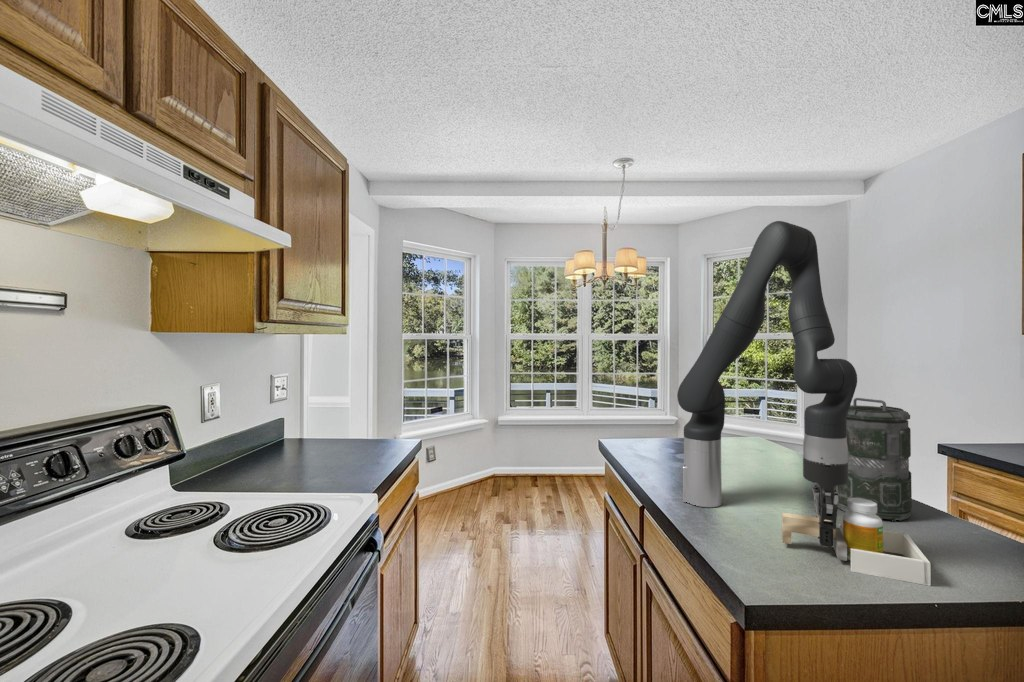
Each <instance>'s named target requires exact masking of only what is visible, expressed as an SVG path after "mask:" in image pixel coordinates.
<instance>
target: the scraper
mask: <svg viewBox="0 0 1024 682" xmlns="http://www.w3.org/2000/svg"><path fill="white" fill-rule="evenodd" d="M781 515H782V517H781V522H782V523H781V524H782V525H781V526H782V527H781V528H782V529H781V530H782V532H781V534H782V535H781V539H782V543H784V544H788V545H792V533H793V534H794V533H795V534H801V535H805V536H807V535H808V536H812V537H813V536H814V537H817V538H818V537H819V525H818V522H819V518H816V516H815V517H814V516H809V515H803V514H797V513H789V512H781ZM824 521H828V522H831V520H824ZM832 548H833V549H834V553H835V554H836V558H837V559H838V560H840V561H848V559H847V544H846V542H845V539H844V537H843V535H842V532H841V530H840V528H839V526H838V527H837V526H836V529H833V547H832Z"/></svg>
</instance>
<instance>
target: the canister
mask: <svg viewBox="0 0 1024 682" xmlns="http://www.w3.org/2000/svg"><path fill="white" fill-rule="evenodd" d="M852 401H853V402H852V403H853V404H852V405H850V408H849V411H848V413H847V417H846V439H847V446H848V483H847V484H846V485H843V486H834V490H836V493H838V503H837V507H838V510H839V509H840V510H841V511H844V512H845V511H847V510H849V509H848V506H847V500H848V499H849V498H862V499H867V500H870V501H873V502H875V503H876V504H877V513H876V515H877V516H879V517H880V518H881V519H882V520H891V521H892V520H893V521H892V522H897V521H896V520H899V521H903V520H904V521H905V520H907V519H909V518H910V517H911V515H912V506H913V505H912V502H913V501H912V493H913V491H912V472H911V470H910V469H909V468H910V463H909V461H910V457H911V455H912V454H911V453H912V444H911V443H912V442H911V441H912V439H911V433H912V432H911V428H910V427H909V421H908V420H910V419H911V414H910V413H909V412H908V411H906V410H904V409H902V408H901V407H893V406H888V405H887V403H886V402H885V401H884V400H881V399H873V398H865V397H864V398H863V397H855V398H854V399H852ZM857 401H861V402H870V403H871V402H872V403H879V404H882V405H880V406H874V405H857Z"/></svg>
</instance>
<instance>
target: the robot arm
mask: <svg viewBox="0 0 1024 682" xmlns="http://www.w3.org/2000/svg"><path fill="white" fill-rule="evenodd" d="M817 246H818V245H817V240H816V237H815V235H814V234H813V232H812V231H811V230H809V229H808V228H805V227H802V226H799V225H796V224H793V223H789V222H787V221H782V220H776V221H772V222H771V223H769V224H767V225H766V226H765V227H764V228H763V229H762V230H761V232H760V233H759V235H758V236H757V238H756V240H755V242H754V244H753V246H752V249H751V251H750V254H749V256H748V258H747V260H746V261H747V262H746V264H745V267H744V268H743V271H742V273H741V275H740V278H739V280H738V282H737V284H736V286H735V288H734V289H733V293H732V294H731V296H730V298H729V300H728V302H727V304H726V305H725V307H724V308H723V311H722V312H721V314H720V316H719V317H718V320H717V321H716V323H715V326H714V328H713V330H712V332H711V333H710V334H709V335H710V336H709V337H708V339H707V341H706V342H705V344H704V347H703V348H702V350H701V352H700V354H699V356H698V358H697V359H696V361H695V362H694V363H693V365H692V367H691V368H690V370H689V371H688V373H687V374H686V375H685V377H684V378H683V380H682V381H681V383H680V385H679V386H678V390H677V402H678V405H679V406H680V408H681V409H682V410H684V412H687V413H691V417H690V419H689V421H688V422H687V423H686V424H685V425H684V427H683V466H682V502H683V503H686V502H687V504H689V503H690V505H693V506H695V505H696V507H702V508H717V507H720V506H721V505H722V504H723V503H722V502H723V501H722V498H723V495H722V493H723V492H722V491H723V490H722V489H723V488H722V486H723V485H722V431H723V428H724V426H725V415H726V413H725V412H726V396H725V395H726V394H725V390H724V387H723V386H722V383H721V382H720V381H719V380H720V377H721V376H722V375H723V373H724V372H725V371H726V370H727V369H728V368H729V366H730V365H732V363H733V362H735V361H736V360H737V359H738V358H739V357H740V356H741V355H742V354H744V352H745V351H746V350H747V349H748V348H749V346H751V344H752V342H754V338H755V337H756V336H757V333H758V332H759V330H760V329H761V327H762V325H763V323H764V320H765V316H766V315H765V313H766V290H767V287H768V283H769V281H770V280H771V277H772V275H773V274H774V271H775V270H776V269H777V267H778V266H780V267H781V266H782V267H784V268H785V269H786V271H787V273H788V275H789V278H790V282H791V287H792V289H791V296H790V299H789V303H788V308H787V314H788V315H787V316H788V322H789V323H788V324H789V327H790V330H791V334H792V338H793V341H794V363H793V364H794V365H793V379H794V382H795V384H796V386H797V388H799V389H800V390H801V391H802V392H804V393H806V394H811V395H813V394H814V395H817V394H822V395H823V394H825V395H824V398H823V400H822V401H821V402H819V403H815V404H812V405H809V406H807V407H805V409H804V417H803V418H804V421H803V422H804V434H803V436H804V437H803V441H802V477H803V478H804V479H805V480H806V481H808V482H810V483H813V484H814V486H812V495H813V507H814V513H815V514H816V515H815V517H816V518H819V522H818V525H819V537H818V536H817V539H818V540H819V544H820V545H821V546H822V547H828V548H834V547H833V529H836V527H837V518H838V510H839V508H838V507H837V503H838V493H836V490H834V486H843V485H846V484H847V483H848V446H847V439H846V417H847V413H848V411H849V408H850V405H851V404H852V401H853V397H854V395H855V392H856V389H857V386H858V385H857V384H858V374H857V371H856V368H855V367H854V365H853V363H852V362H850V361H849V360H847V359H845V358H819V357H818V352H822V351H824V350H827V349H829V348H830V347H832V346H833V345H834V344H835V339H836V338H835V334H834V331H833V327H832V324H831V321H830V317H829V315H828V312H827V308H826V305H825V301H824V296H823V290H822V289H823V288H822V283H821V272H820V267H819V253H818V247H817ZM815 483H816V484H815ZM824 520H831V522H828V521H824Z"/></svg>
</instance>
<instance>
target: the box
mask: <svg viewBox="0 0 1024 682" xmlns="http://www.w3.org/2000/svg"><path fill="white" fill-rule="evenodd" d="M838 528H840V530H841V532H842V535H843V523H838ZM884 552H887V553H884ZM888 553H893V554H888ZM894 554H898V555H894ZM900 555H903V556H900ZM850 571H851V572H852V573H857V574H863V575H870V576H875V577H880V578H885V579H891V580H894V581H895V580H897V581H901V582H907V583H913V584H918V585H923V586H929V587H931V585H932V584H931V582H932V579H931V575H932V574H931V562H930V560H928V558H927V557H926V555H924V553H923V552H922V550H921V549H920V548H919V547H918V546H917V544H916V542H914V541H913V539H912V538H911V537H910V535H909V534H908V533H905V532H898V531H892V530H886V529H883V553H877V552H870V551H864V550H858V549H852V548H851V560H850Z"/></svg>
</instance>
